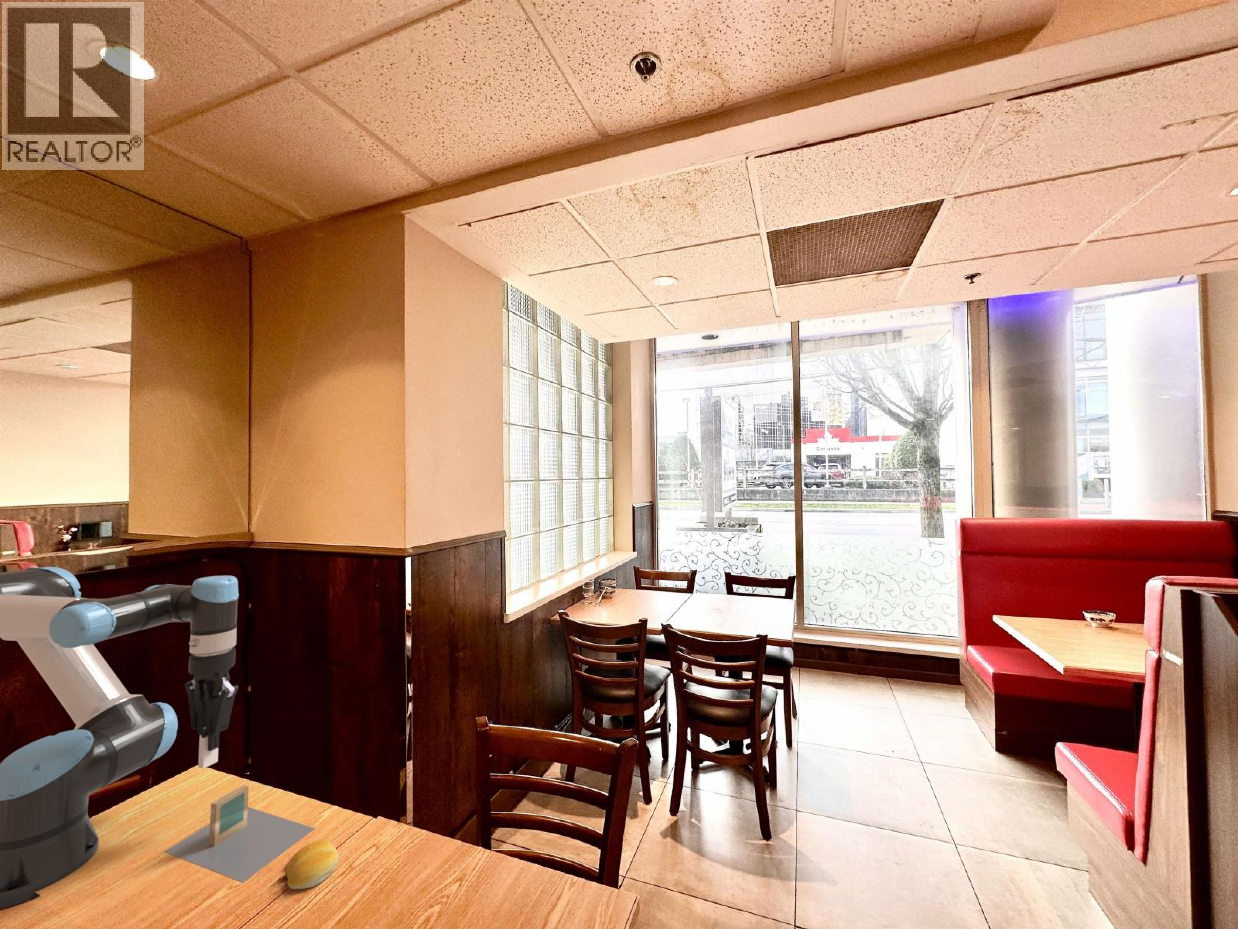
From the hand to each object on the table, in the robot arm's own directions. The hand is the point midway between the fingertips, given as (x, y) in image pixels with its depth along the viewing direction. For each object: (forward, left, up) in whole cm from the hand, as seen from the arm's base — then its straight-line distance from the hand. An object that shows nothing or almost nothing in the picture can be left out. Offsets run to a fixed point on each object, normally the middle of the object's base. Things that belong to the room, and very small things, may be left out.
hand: (208, 764), depth 98 cm
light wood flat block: (+7, 0, -13) cm, 15 cm away
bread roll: (+30, 0, -14) cm, 33 cm away
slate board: (+11, 0, -14) cm, 18 cm away
